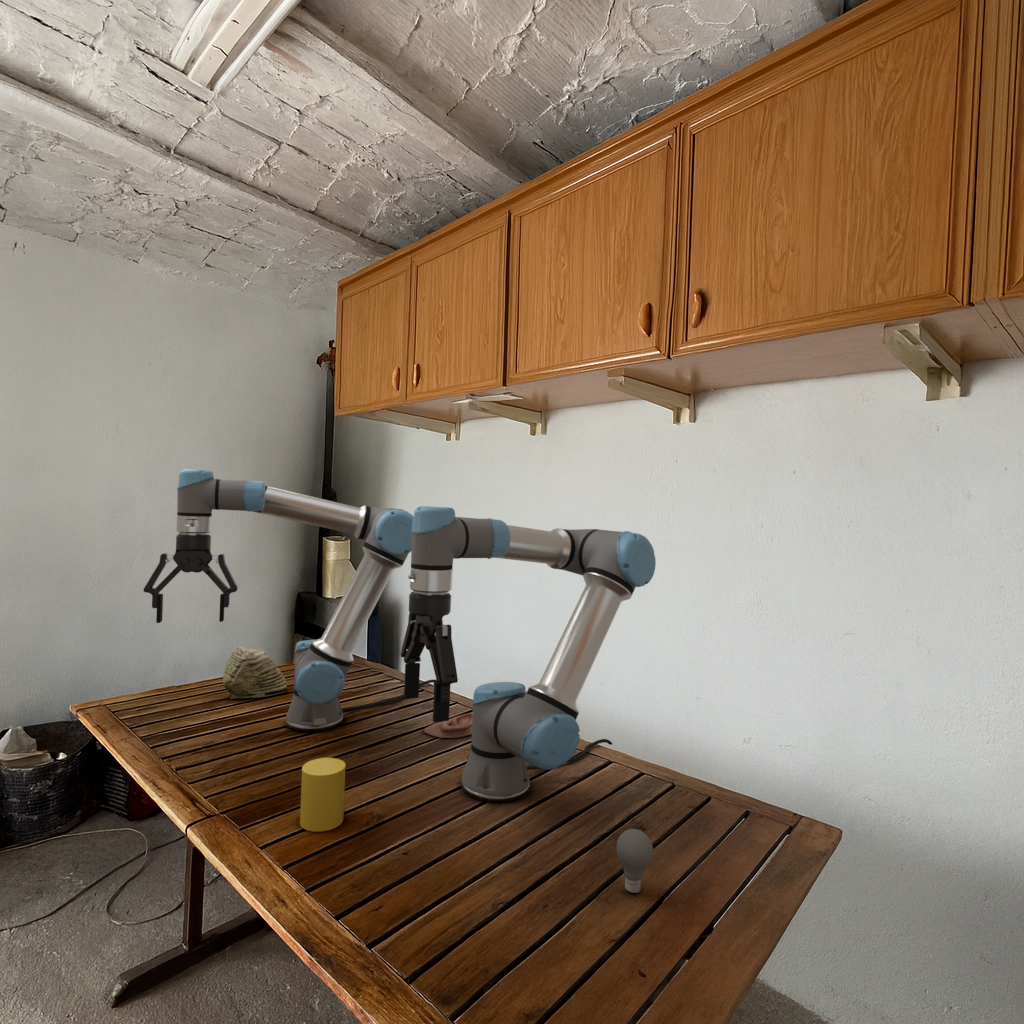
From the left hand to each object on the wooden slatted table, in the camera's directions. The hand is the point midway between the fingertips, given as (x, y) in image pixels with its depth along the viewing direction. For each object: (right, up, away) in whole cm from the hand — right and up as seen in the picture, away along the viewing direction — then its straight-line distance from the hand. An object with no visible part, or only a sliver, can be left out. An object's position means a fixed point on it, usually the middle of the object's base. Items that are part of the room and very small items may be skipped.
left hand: (190, 621), depth 153 cm
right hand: (+62, -9, -39) cm, 74 cm away
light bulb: (+98, -37, -47) cm, 115 cm away
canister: (+40, -34, -29) cm, 60 cm away
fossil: (-3, -31, +45) cm, 55 cm away
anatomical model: (+61, -34, +21) cm, 73 cm away
